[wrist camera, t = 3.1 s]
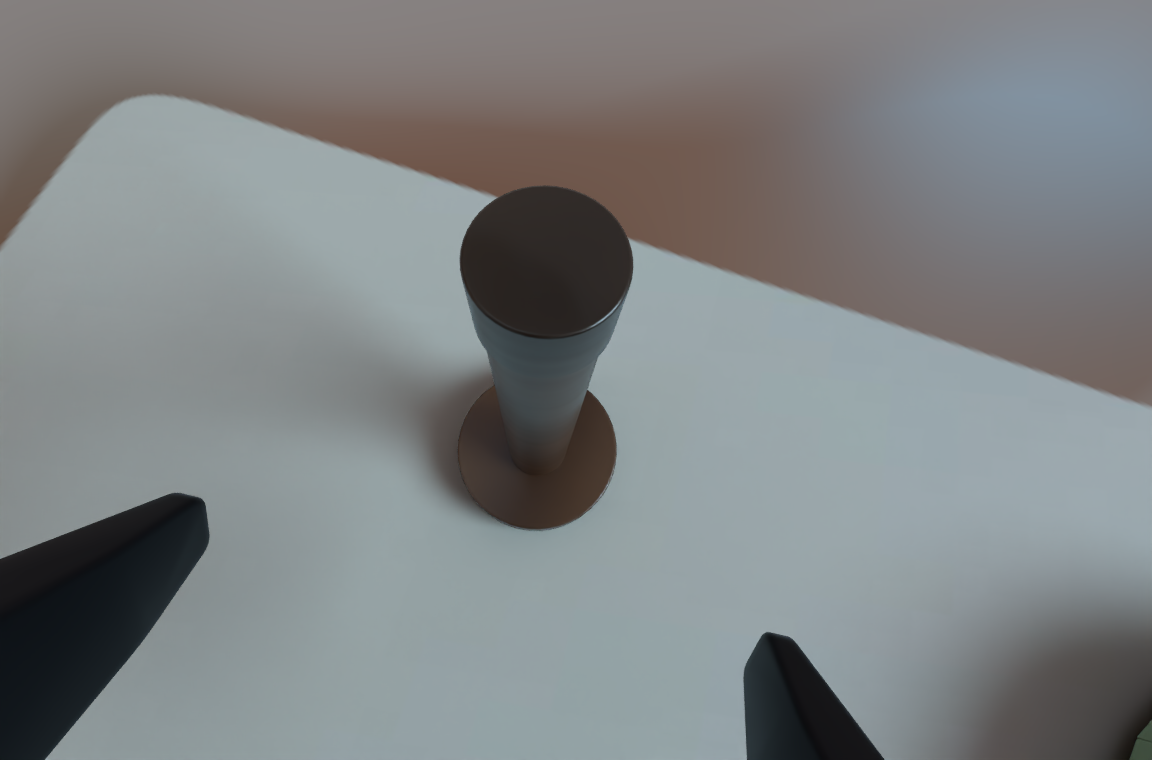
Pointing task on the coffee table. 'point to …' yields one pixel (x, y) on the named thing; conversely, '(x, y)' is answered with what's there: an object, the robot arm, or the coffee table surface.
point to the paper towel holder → (541, 353)
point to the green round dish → (1143, 744)
